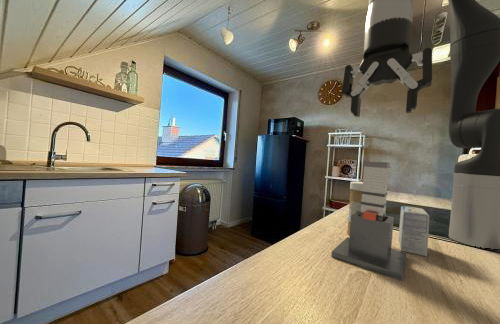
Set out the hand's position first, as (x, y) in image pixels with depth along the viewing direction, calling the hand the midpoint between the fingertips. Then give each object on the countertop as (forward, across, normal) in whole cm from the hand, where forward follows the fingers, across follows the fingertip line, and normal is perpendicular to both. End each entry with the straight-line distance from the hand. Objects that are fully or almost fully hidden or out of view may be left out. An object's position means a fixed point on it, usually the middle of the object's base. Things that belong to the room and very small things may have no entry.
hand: (380, 114), depth 41 cm
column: (+26, 0, 0) cm, 26 cm away
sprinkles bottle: (+28, +5, -12) cm, 31 cm away
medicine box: (+28, -6, -13) cm, 31 cm away
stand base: (+28, 0, 0) cm, 28 cm away
